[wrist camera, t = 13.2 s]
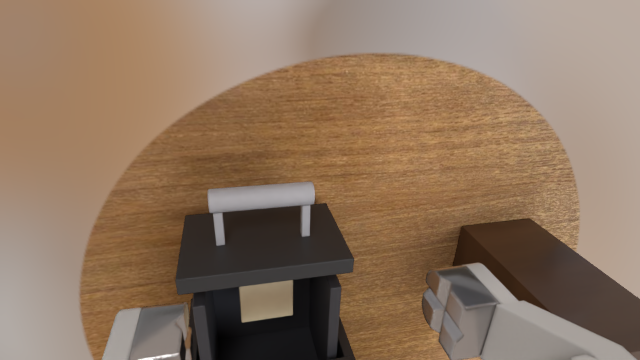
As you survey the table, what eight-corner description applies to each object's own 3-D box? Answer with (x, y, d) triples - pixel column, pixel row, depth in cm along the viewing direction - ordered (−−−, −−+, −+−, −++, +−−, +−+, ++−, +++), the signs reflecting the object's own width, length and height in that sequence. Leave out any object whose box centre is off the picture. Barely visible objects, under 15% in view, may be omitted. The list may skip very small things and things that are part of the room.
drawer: (178, 166, 28) (165, 221, 22) (328, 156, 31) (359, 203, 24) (202, 339, 36) (198, 420, 29) (321, 321, 39) (343, 392, 32)
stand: (461, 225, 39) (599, 359, 25) (530, 218, 40) (694, 339, 26) (447, 288, 42) (561, 436, 28) (511, 278, 44) (648, 414, 30)
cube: (236, 249, 31) (238, 282, 28) (285, 244, 32) (293, 275, 29) (239, 288, 33) (241, 323, 30) (285, 282, 34) (293, 315, 30)
